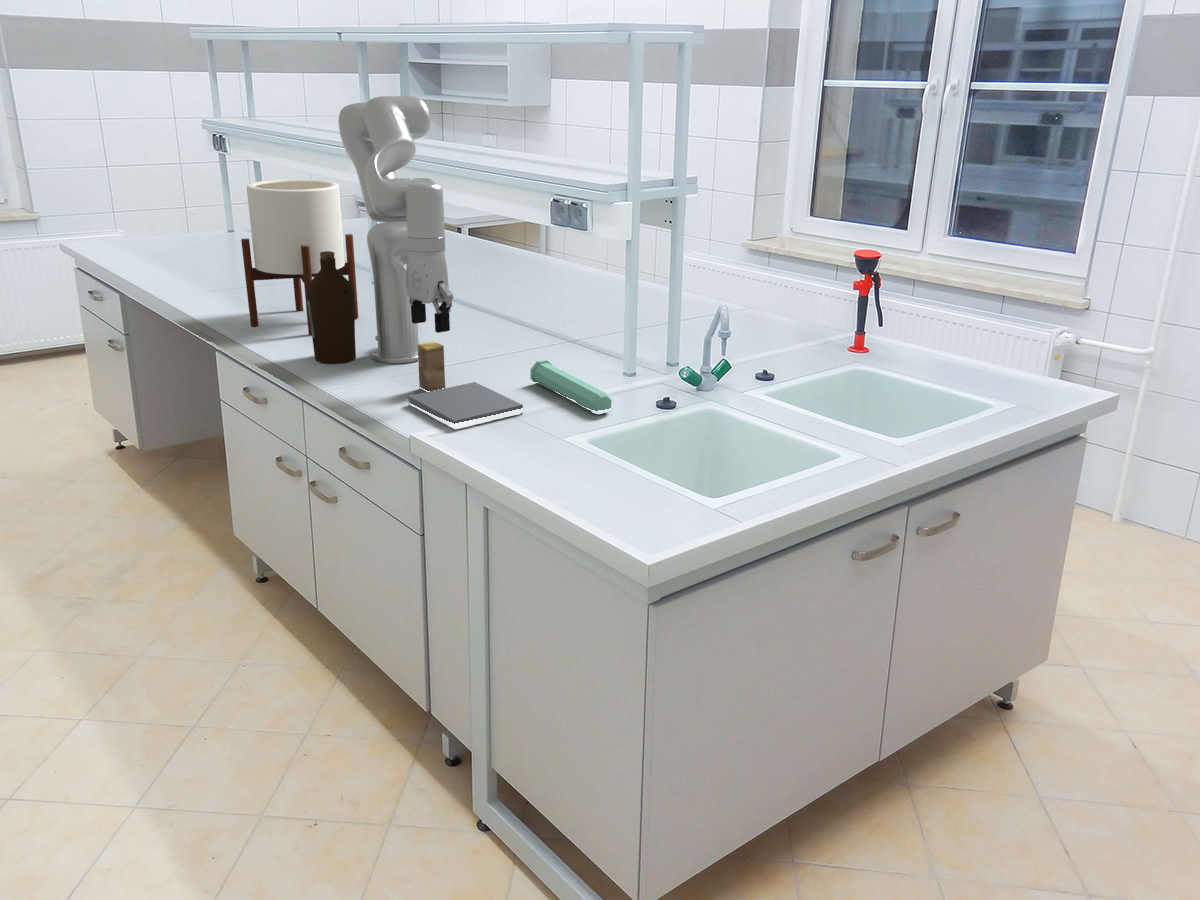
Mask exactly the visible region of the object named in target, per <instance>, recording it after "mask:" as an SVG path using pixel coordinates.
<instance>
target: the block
mask: <svg viewBox="0 0 1200 900" xmlns="http://www.w3.org/2000/svg"><path fill="white" fill-rule="evenodd" d="M444 348H445V347H444V345H443V344H441V343H438V342H436V341H430V342H428V341H427V342H423V343H419V344H418V379H419V381H418V382H419V383H418V384H419V388H420V387H421V388H423V389H425V390H427V391H434V390H438V389H442V388H446V376H445V375H446V373H445V372H446V371H445V349H444Z"/></svg>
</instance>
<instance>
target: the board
mask: <svg viewBox="0 0 1200 900" xmlns="http://www.w3.org/2000/svg"><path fill="white" fill-rule="evenodd" d="M409 402H410V403H411V404H413V405H415V406H417V407H419V408H421V409H423V410H425V411H427V412H429V413H431V414H433V415H435V416H437V417H439V418H442V419H444V420H446V421H449V422H452V423H454V424H455V423H459V422H464V421H469V420H473V419H478V418H482V417H487V416H491V415H496V414H500V413H504V412H508V411H512V410H516V409H521V408H523V409H524V406H523V404H522V403H519V402H518V401H516V400H514V399H511V398H509V397H508V396H505V395H503V394H501V393H498V392H496V391H495V390H493V389H490V388H489V387H487V386H484V385H482V384H480V383H477V382H476V381H474V382H473V381H472V382H469V383H464V384H459V385H454V386H450V387H445V388H444V389H439V390H435V391H430V392H425V391H424V392H422V393H418V394H417V393H416V394H411V395H408V403H409Z"/></svg>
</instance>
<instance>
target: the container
mask: <svg viewBox="0 0 1200 900" xmlns="http://www.w3.org/2000/svg"><path fill="white" fill-rule="evenodd" d="M530 380H531V381H532V382H533V383H534V382H538V383H540V384H542V385H544V386H546V387H548V388H550V389H552V390H554V391H556V392H558V393H560V394H561V395H563V396H565V397H568V398H570V399H573V400H575V401H576V402H577V403H578V404H580V405H582V406H584V407H586V408H589V409H591V410H595V411H598V410H605V409H609V408H611V409H612V399H611V397H610V396H609V394H607V393H606V392H604V391H602V390H600V389H599V388H597V387H595V386H593V385H591V384H590V383H587V382H585V381H584V380H581V379H579V378H578V377H575V376H573V375H571V374H569V373H568V372H566V371H564V370H562V369H560V368H558V367H556V366H554V365H553V364H551V362H550V361H549V360H547V359H541V360H536V361H535V363H534V364H533V365H532V367H530ZM540 384H539V385H540ZM542 385H541V386H542ZM544 386H543V387H544ZM546 387H545V388H546ZM548 388H547V389H548ZM550 389H549V390H550Z"/></svg>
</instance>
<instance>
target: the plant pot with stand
mask: <svg viewBox="0 0 1200 900" xmlns="http://www.w3.org/2000/svg"><path fill="white" fill-rule="evenodd" d="M340 194H341V193H340V185H339V184H338V183H336V182H334V181H328V180H319V179H304V178H303V179H299V178H298V179H296V178H295V179H294V178H292V179H291V178H290V179H270V180H262V181H255V182H251V183H249V184H247V185H246V195H247V204H248V212H249V221H250V222H249V223H250V230H251V231H250V232H251V240H252V250H251V245H250V243H251V242H250V238H241V240H240V243H241V250H242V257H243V259H242V260H243V267H244V269H243V270H244V276H245V277H244V278H245V287H246V294H247V296H246V297H247V302H248V303H247V304H248V312H249V320H250V321H249V322H250V327H251V328H257V326H258V327H259V325H260V324H259V315H258V308H257V299H256V289H255V281H268V280H285V279H292V281H293V293H294V304H295V311H296V312H297V311H302V312H304V301H303V300H304V299H303V292H302V291H303V290H302V283H303V285H304V287H303V288H304V296H305V297H304V298H305V307H306V308H305V310H306V317H307V318H306V320H307V321H306V322H307V331H308V332H307V333H308V336H310V337H312V332H311V325H310V318H309V311H308V304H307V288H308V285H309V283H310V282H311V281H312V279H313V278H314V277H315V276H316V275H317V273H318V272H319V271H320V269H321V265H320V258H321V256H320V253H321V252H325V251H330V252H334V258H335V263H336V269H337V270H338V271H339V272H340V273H341V274H342V275H343V276H347V280H348V281H349V282H350V284H351V286H352V288H353V291H354V313H355V320H358V319H359V306H358V304H359V303H358V291H357V276H356V275H357V274H356V262H355V260H356V259H355V249H354V247H355V246H354V236H353V233H345V235H344V236H345V240H344V237H343V220H342V210H341V196H340ZM344 241H345V248H344ZM344 249H345V250H344ZM251 251H253V258H254V259H253V260H254V267H253V260H252V253H251ZM345 251H346V262H345ZM357 318H358V319H357Z"/></svg>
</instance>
